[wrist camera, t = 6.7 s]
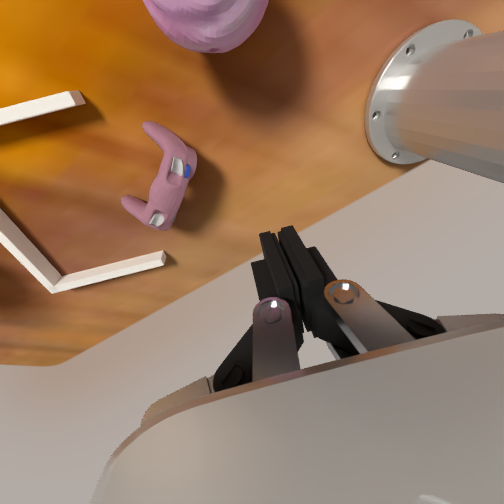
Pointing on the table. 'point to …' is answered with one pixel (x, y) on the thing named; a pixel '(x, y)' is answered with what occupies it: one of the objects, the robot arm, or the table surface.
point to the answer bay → (21, 246)
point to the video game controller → (164, 180)
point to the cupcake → (207, 22)
